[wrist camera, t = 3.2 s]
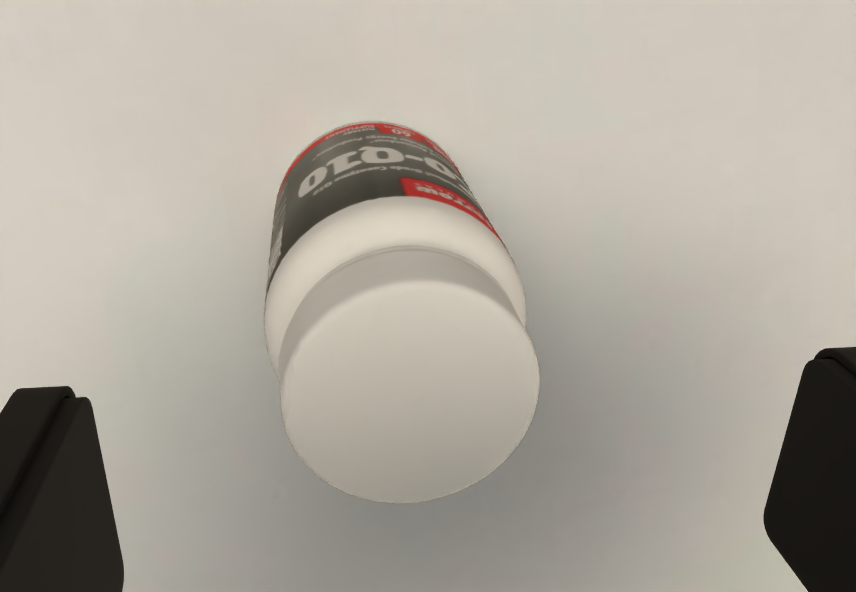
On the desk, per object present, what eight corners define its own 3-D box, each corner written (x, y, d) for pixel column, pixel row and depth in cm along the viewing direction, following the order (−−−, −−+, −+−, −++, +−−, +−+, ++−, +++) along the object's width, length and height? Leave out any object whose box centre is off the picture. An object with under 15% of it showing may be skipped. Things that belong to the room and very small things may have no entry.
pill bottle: (471, 119, 18) (589, 251, 11) (458, 297, 20) (551, 511, 13) (269, 116, 18) (248, 257, 10) (277, 301, 20) (263, 531, 12)
